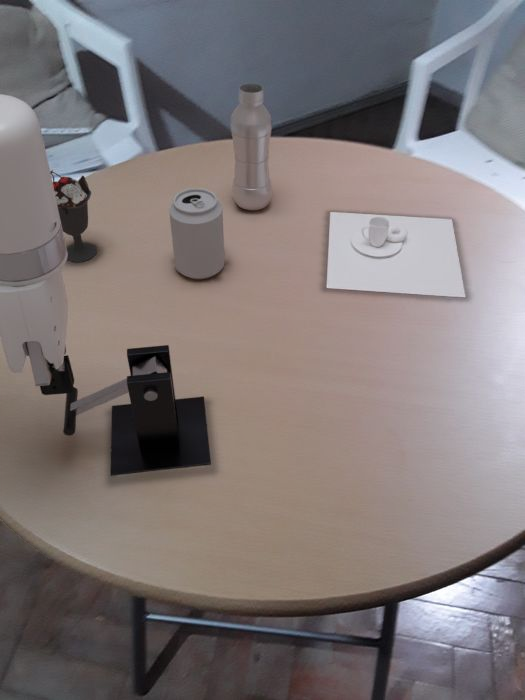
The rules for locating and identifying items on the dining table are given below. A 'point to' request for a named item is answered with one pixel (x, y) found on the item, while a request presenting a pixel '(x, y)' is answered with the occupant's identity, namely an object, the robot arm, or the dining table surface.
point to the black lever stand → (157, 422)
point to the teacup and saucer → (393, 255)
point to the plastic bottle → (251, 148)
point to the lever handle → (104, 394)
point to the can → (197, 233)
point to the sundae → (74, 215)
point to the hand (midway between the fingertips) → (58, 388)
